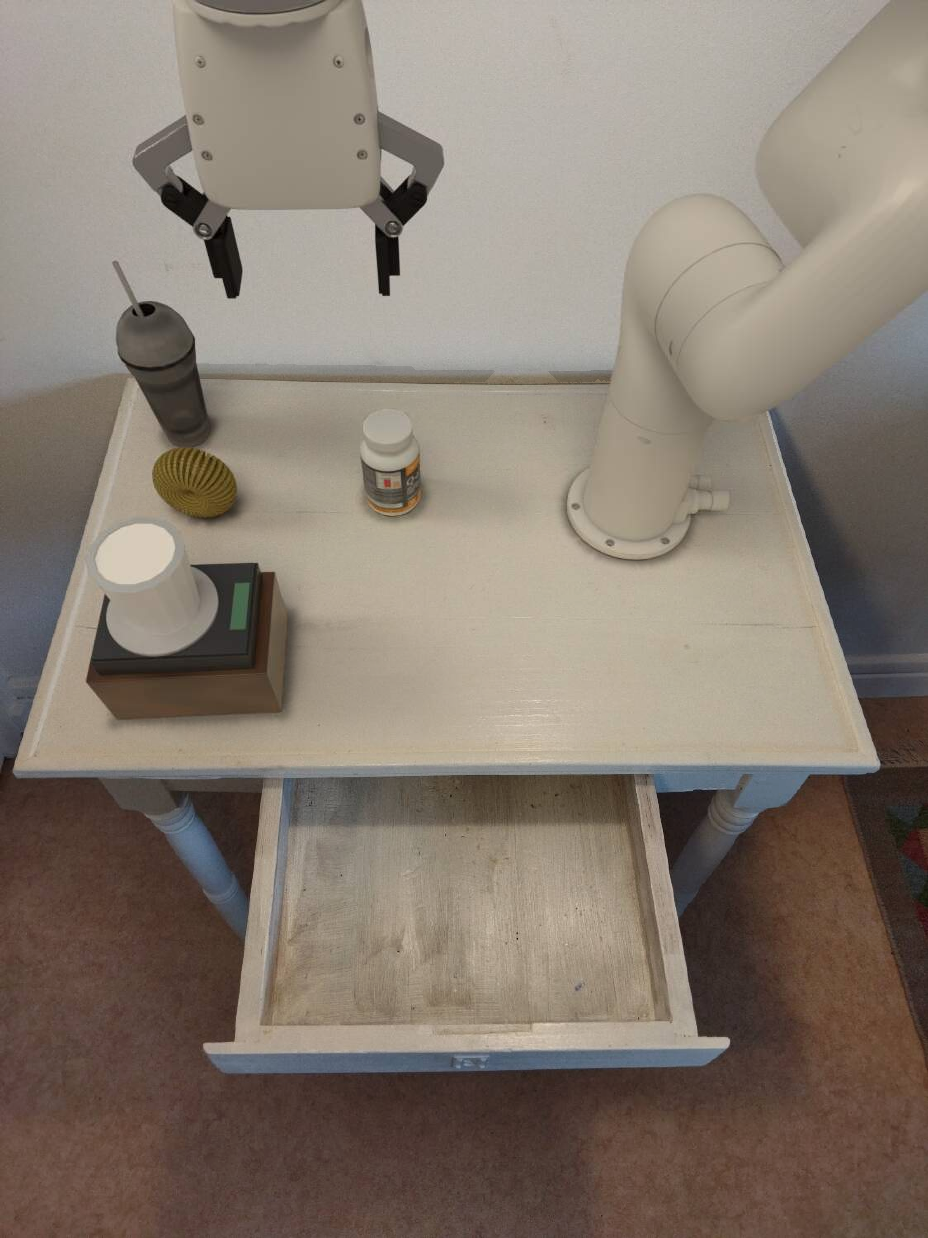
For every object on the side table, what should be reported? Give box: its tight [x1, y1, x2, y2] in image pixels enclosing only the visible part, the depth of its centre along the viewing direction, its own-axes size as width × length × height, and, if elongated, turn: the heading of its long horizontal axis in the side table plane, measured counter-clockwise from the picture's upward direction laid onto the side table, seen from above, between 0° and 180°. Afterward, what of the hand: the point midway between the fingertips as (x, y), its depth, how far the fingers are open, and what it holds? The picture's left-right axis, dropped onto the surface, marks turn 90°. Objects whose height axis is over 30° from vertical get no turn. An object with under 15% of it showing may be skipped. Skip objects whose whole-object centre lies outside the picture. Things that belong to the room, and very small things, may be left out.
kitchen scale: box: [89, 562, 262, 675], centre depth 63 cm, size 12×9×3 cm
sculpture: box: [151, 447, 238, 519], centre depth 76 cm, size 8×4×8 cm, turn 82°
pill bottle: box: [359, 408, 422, 517], centre depth 77 cm, size 6×6×10 cm
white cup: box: [85, 516, 200, 636], centre depth 59 cm, size 7×7×7 cm
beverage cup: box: [111, 260, 211, 448], centre depth 77 cm, size 7×7×20 cm
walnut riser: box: [85, 571, 289, 720], centre depth 67 cm, size 14×10×7 cm
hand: (310, 284), depth 51 cm, fingers open, 9 cm apart
